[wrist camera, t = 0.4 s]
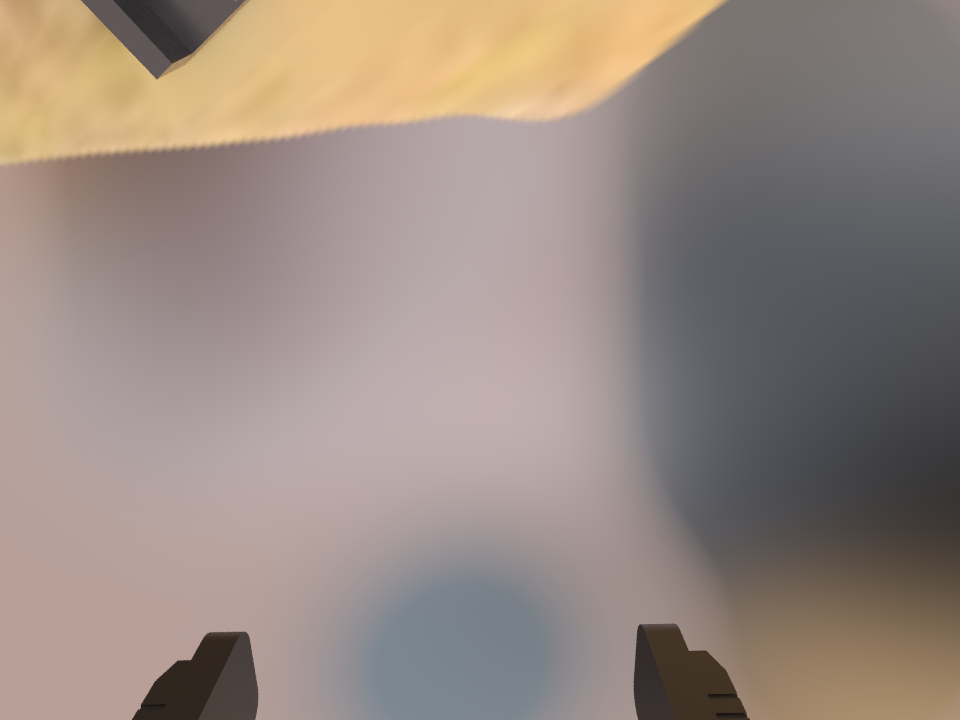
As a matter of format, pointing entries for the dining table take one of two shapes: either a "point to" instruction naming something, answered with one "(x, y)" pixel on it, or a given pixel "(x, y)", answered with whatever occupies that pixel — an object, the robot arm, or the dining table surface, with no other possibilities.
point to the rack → (164, 27)
